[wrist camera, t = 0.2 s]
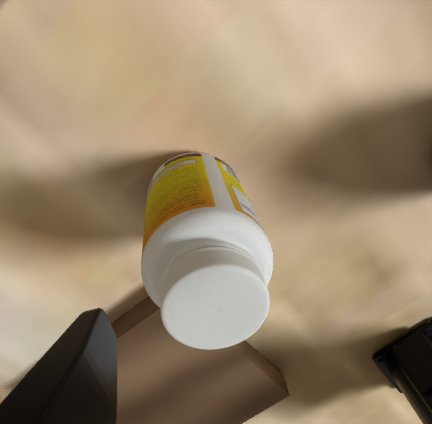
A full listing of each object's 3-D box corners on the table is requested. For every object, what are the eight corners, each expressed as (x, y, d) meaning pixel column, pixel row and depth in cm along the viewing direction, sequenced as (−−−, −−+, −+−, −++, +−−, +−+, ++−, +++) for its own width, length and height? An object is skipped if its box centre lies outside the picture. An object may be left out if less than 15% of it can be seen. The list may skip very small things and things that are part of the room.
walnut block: (282, 373, 30) (289, 395, 28) (158, 449, 33) (158, 473, 31) (174, 277, 24) (175, 297, 22) (34, 380, 27) (24, 404, 25)
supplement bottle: (136, 219, 22) (116, 352, 13) (164, 135, 20) (165, 224, 11) (219, 242, 23) (253, 375, 14) (253, 166, 21) (320, 268, 12)
